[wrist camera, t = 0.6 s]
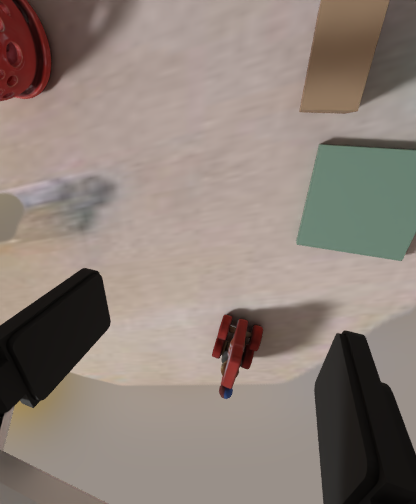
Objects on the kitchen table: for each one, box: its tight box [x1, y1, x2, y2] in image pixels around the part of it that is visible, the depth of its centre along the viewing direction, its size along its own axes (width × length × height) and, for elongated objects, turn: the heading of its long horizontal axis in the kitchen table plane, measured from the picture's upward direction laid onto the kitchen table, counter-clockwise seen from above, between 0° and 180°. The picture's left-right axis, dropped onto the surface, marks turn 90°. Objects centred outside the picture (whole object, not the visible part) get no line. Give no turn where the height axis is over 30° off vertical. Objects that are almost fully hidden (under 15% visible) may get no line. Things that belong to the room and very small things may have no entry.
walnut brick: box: [300, 0, 390, 114], centre depth 21 cm, size 8×4×6 cm, turn 178°
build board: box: [297, 144, 416, 261], centre depth 28 cm, size 12×12×1 cm
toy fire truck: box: [212, 314, 263, 399], centre depth 40 cm, size 7×12×10 cm, turn 170°
